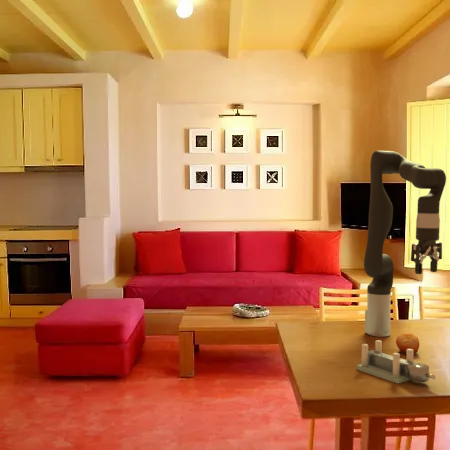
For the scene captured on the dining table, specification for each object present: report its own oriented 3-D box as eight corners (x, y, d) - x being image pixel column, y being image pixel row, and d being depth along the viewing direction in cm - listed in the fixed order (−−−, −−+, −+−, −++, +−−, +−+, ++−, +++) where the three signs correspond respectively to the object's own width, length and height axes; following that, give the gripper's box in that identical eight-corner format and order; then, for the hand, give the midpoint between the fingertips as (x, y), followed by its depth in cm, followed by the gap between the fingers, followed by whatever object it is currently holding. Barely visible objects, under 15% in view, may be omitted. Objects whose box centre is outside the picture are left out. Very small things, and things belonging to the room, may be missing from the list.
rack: (356, 369, 166) (357, 344, 165) (376, 363, 172) (376, 339, 171) (398, 383, 153) (398, 356, 152) (418, 376, 159) (418, 350, 158)
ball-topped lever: (363, 364, 166) (363, 352, 166) (374, 360, 170) (374, 349, 169) (428, 386, 147) (428, 372, 147) (439, 381, 150) (440, 368, 150)
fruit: (418, 345, 187) (419, 329, 183) (419, 361, 181) (419, 346, 177) (395, 343, 190) (395, 328, 186) (395, 359, 184) (395, 344, 180)
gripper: (424, 227, 166) (423, 276, 167) (449, 226, 174) (448, 272, 175) (405, 226, 172) (404, 273, 174) (430, 225, 180) (429, 269, 182)
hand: (426, 272), depth 174 cm, fingers open, 8 cm apart
